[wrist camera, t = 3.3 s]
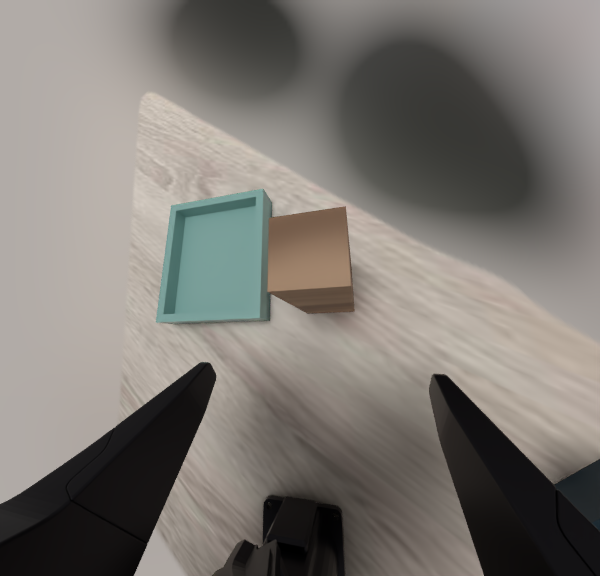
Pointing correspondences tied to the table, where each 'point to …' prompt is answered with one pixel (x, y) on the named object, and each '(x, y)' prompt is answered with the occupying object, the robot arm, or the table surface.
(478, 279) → the table surface
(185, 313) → the tray
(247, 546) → the robot arm
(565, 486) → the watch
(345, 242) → the tall brown wood pillar
